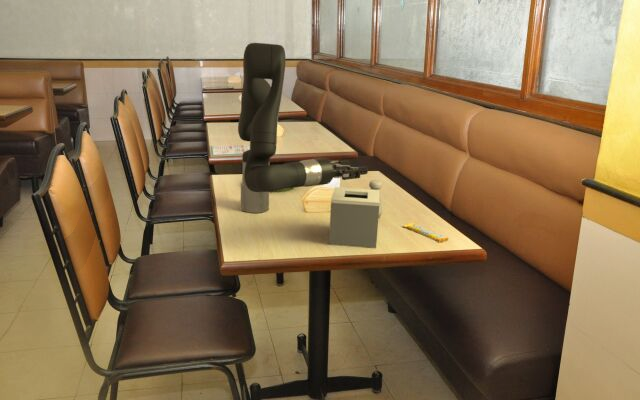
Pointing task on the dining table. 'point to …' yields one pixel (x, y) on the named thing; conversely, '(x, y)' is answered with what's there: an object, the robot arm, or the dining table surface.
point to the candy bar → (426, 232)
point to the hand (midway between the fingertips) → (357, 166)
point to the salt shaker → (376, 186)
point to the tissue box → (354, 217)
